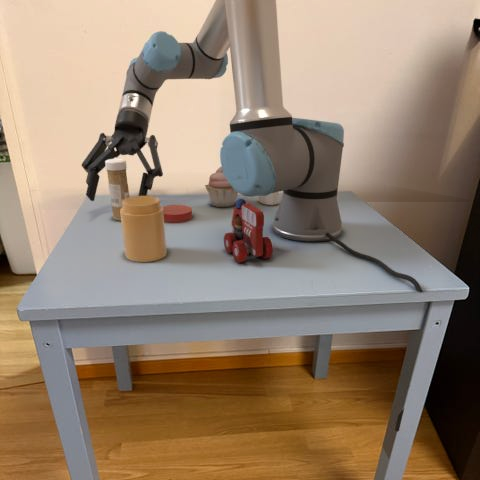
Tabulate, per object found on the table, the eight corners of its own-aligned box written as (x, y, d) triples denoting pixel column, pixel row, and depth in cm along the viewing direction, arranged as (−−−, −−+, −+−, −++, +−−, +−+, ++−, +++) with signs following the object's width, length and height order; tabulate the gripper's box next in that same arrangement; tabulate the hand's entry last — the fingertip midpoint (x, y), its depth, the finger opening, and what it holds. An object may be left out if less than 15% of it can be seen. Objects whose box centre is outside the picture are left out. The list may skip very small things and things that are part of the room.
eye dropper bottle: (272, 199, 124) (274, 153, 118) (279, 205, 119) (281, 158, 113) (257, 200, 123) (258, 154, 117) (263, 206, 118) (264, 158, 112)
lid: (164, 211, 114) (164, 203, 113) (196, 213, 113) (196, 205, 112) (153, 221, 107) (152, 213, 106) (186, 223, 106) (186, 215, 105)
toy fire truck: (251, 242, 96) (252, 192, 90) (276, 263, 86) (279, 209, 80) (219, 246, 93) (219, 195, 88) (242, 268, 83) (243, 213, 78)
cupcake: (213, 211, 114) (212, 170, 109) (200, 201, 122) (199, 163, 117) (246, 207, 118) (247, 167, 113) (232, 198, 125) (232, 160, 120)
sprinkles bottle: (135, 218, 109) (129, 160, 102) (119, 222, 106) (111, 162, 99) (125, 214, 111) (118, 157, 105) (109, 218, 109) (101, 159, 102)
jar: (175, 253, 90) (171, 200, 84) (143, 265, 84) (137, 209, 79) (148, 243, 94) (143, 192, 89) (117, 254, 89) (109, 201, 83)
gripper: (79, 106, 107) (58, 187, 102) (177, 109, 104) (161, 193, 98) (93, 127, 115) (74, 204, 109) (185, 131, 111) (170, 210, 106)
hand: (115, 199), depth 104 cm, fingers open, 12 cm apart
